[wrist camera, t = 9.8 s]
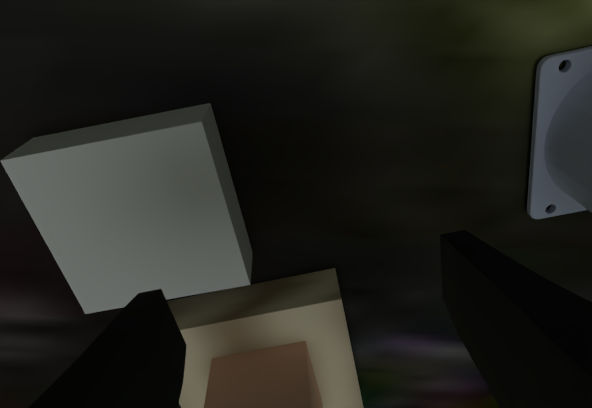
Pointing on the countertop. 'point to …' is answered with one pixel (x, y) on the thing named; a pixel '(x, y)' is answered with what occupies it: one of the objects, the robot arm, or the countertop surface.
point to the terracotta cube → (264, 379)
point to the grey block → (136, 207)
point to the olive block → (270, 332)
